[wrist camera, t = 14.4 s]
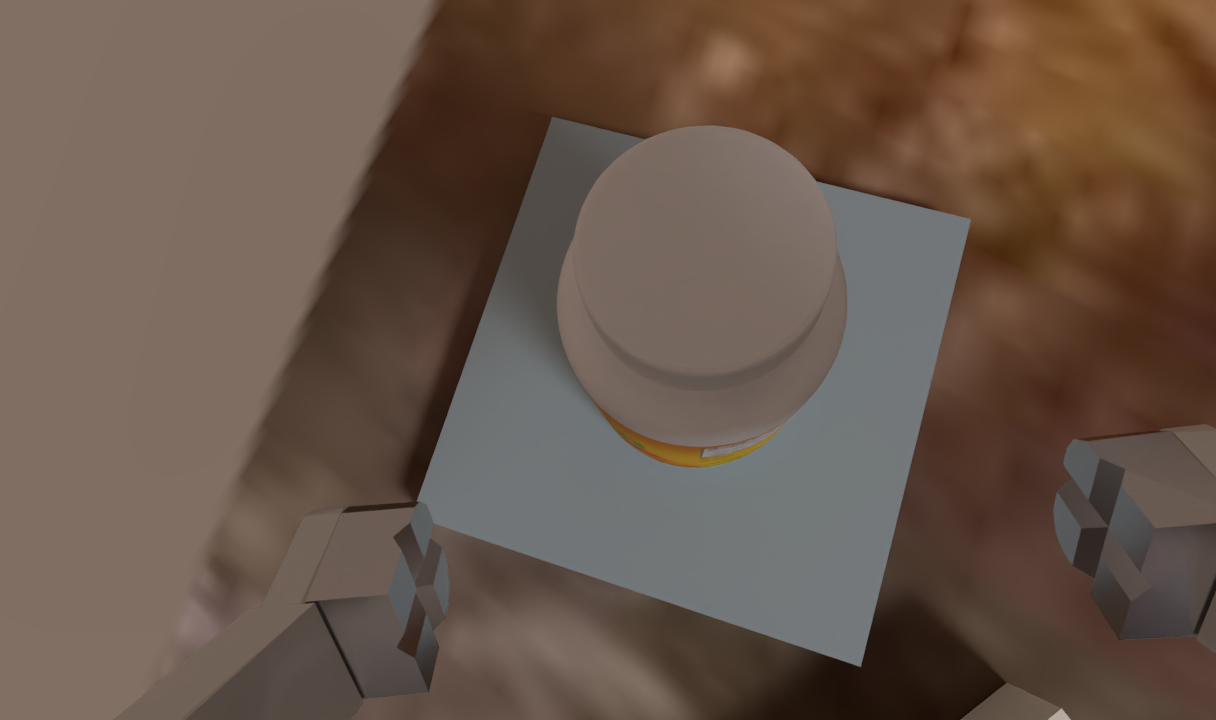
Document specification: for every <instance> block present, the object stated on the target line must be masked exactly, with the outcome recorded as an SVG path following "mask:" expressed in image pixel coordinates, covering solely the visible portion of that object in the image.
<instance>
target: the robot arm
mask: <svg viewBox="0 0 1216 720" xmlns="http://www.w3.org/2000/svg"><path fill="white" fill-rule="evenodd" d="M1063 465H1064V466H1065V468H1066V469H1067V471H1068V472H1069V473H1070V475H1071V476H1072V478H1071V479H1070V480H1069V481H1068V482H1067V483H1065V484H1064V485H1063V486H1062V487H1061V488H1060V489H1059V490H1058V491H1057V494H1056V500H1055V505H1054V511H1053V513H1054V521H1055V528H1056V534H1057V537H1058V539H1059V542H1060V545H1061V547H1062V550H1063V551H1064V553H1065V555H1066V556H1067V558H1068V560H1069V561H1070V563H1071V565H1072V566H1073V567H1075V568H1077V569H1078V570H1080V571H1082V572H1083V573H1085V574H1087V575H1088V576H1090V577H1092V578H1093V579H1094V583H1093V586H1092V590H1091V594H1090V595H1091V597H1092V598H1093V600H1094V601H1095V603H1096V604H1097V606H1098V608H1099V609H1100V611H1101V612H1102V614H1103V615H1104V617H1105V619H1106V620H1107V622H1108V623H1109V625H1110V626H1111V628H1112V630H1113V631H1114V633H1115V634H1116V636H1117V637H1118V639H1119V640H1130V639H1150V638H1170V637H1190V636H1197V639H1196V640H1197V641H1199V642H1200V643H1201V644H1203V645H1204V646H1206V647H1207V648H1208V649H1210V650H1211V651H1213V652H1214V653H1216V428H1213V427H1211V426H1209V425H1206V424H1203V425H1194V426H1185V427H1177V428H1168V429H1161V430H1159V431H1146V432H1136V433H1126V434H1116V435H1107V436H1097V437H1087V438H1078V439H1073V441H1072V442H1071V443H1070V445H1069V446H1068V448H1067V450H1066V454H1065V458H1064V462H1063ZM433 525H434V522H433V519H432V517H431V514H430V512H429V509H428V507H427V504H424V503H422V502H406V503H392V504H378V505H364V506H350V507H348V508H333V509H318V510H312V511H310V512H309V513H308V514H306V515H305V516H304V517H303V519H302V521H301V523H300V525H299V527H298V529H297V531H296V533H295V536H294V538H293V540H292V542H291V544H290V546H289V548H288V551H287V553H286V555H285V557H284V559H283V561H282V563H281V565H280V568H279V570H278V572H277V574H276V576H275V578H274V580H273V582H272V585H271V587H270V589H269V591H268V593H267V595H266V597H265V599H264V602H263V604H262V606H261V607H260V608H250V609H248V610H247V611H246V612H245V613H243V614H242V615H241V616H240V617H239V618H237V619H236V620H235V621H234V622H232V623H231V624H230V625H229V626H228V627H226V628H225V629H224V630H223V631H221V632H220V633H219V634H218V635H216V636H215V637H214V638H213V639H212V640H210V641H209V642H208V643H207V644H205V645H204V646H203V647H202V648H201V649H199V650H198V651H197V652H196V653H194V654H193V655H192V656H191V657H190V658H188V659H187V660H186V661H185V662H183V663H182V664H181V665H180V666H179V667H177V668H176V669H175V670H174V671H172V672H171V673H170V674H169V675H168V676H166V677H165V678H164V679H163V680H161V681H160V682H159V683H158V684H157V685H155V686H154V687H153V688H152V689H150V690H149V691H148V692H147V693H145V694H144V695H143V696H142V697H141V698H139V699H138V700H137V701H136V702H134V703H133V704H132V705H131V706H130V707H128V708H127V709H126V710H125V711H124V712H122V713H121V714H120V715H119V716H117V717H116V718H115V719H114V720H351V718H352V717H353V716H354V715H355V713H356V712H357V711H358V710H359V708H360V707H361V706H362V705H363V703H364V701H363V699H369V698H379V697H388V696H398V695H408V694H417V693H427V692H429V689H430V684H431V680H432V676H433V671H434V667H435V662H436V658H437V654H438V649H439V646H438V643H437V640H436V638H435V635H434V632H433V630H434V629H435V628H436V627H437V626H438V625H439V624H440V623H441V622H442V621H443V620H444V619H445V618H446V613H447V608H448V603H449V580H450V577H449V571H448V565H447V560H446V557H445V554H444V551H443V548H442V547H441V546H440V545H439V544H437V543H436V542H434V541H433V540H432V539H430V536H431V532H432V528H433Z"/></svg>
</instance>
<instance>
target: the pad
mask: <svg viewBox="0 0 1216 720" xmlns="http://www.w3.org/2000/svg"><path fill="white" fill-rule="evenodd" d="M644 140H645V139H642V138H637V137H633V136H629V135H625V134H621V133H617V132H613V131H609V130H605V129H601V128H597V127H593V126H589V125H584V124H580V123H576V122H572V121H568V120H564V119H560V118H556V117H552V119H551V122H550V125H549V128H548V131H547V133H546V136H545V139H544V142H543V145H542V148H541V150H540V153H539V156H538V159H537V162H536V165H535V167H534V170H533V173H532V176H531V179H530V182H529V184H528V187H527V190H526V193H525V196H524V199H523V201H522V204H521V207H520V210H519V213H518V216H517V218H516V221H515V224H514V227H513V230H512V233H511V235H510V238H509V241H508V244H507V247H506V250H505V253H504V255H503V258H502V261H501V264H500V267H499V270H498V272H497V275H496V278H495V281H494V284H493V287H492V289H491V292H490V295H489V298H488V301H487V304H486V306H485V309H484V312H483V315H482V318H481V321H480V323H479V326H478V329H477V332H476V335H475V338H474V340H473V343H472V346H471V349H470V352H469V355H468V357H467V360H466V363H465V366H464V369H463V372H462V374H461V377H460V380H459V383H458V386H457V389H456V391H455V394H454V397H453V400H452V403H451V406H450V408H449V411H448V414H447V417H446V420H445V423H444V425H443V428H442V431H441V434H440V437H439V440H438V442H437V445H436V448H435V451H434V454H433V457H432V459H431V462H430V465H429V468H428V471H427V474H426V476H425V479H424V482H423V485H422V488H421V491H420V493H419V496H418V499H417V502H422V503H424V504H427V507H428V509H429V512H430V514H431V517H432V519H433V522H434V524H437V525H440V526H442V527H445V528H448V529H451V530H454V531H457V532H460V533H463V534H466V535H469V536H472V537H475V538H478V539H481V540H484V541H487V542H490V543H493V544H496V545H499V546H502V547H505V548H508V549H511V550H514V551H517V552H520V553H523V554H526V555H529V556H532V557H535V558H538V559H541V560H544V561H547V562H550V563H553V564H556V565H559V566H562V567H565V568H567V569H570V570H573V571H576V572H579V573H582V574H585V575H588V576H591V577H594V578H597V579H600V580H603V581H606V582H609V583H612V584H615V585H618V586H621V587H624V588H627V589H630V590H633V591H636V592H639V593H642V594H645V595H648V596H651V597H654V598H657V599H660V600H663V601H666V602H669V603H672V604H675V605H678V606H681V607H684V608H687V609H690V610H693V611H695V612H698V613H701V614H704V615H707V616H710V617H713V618H716V619H719V620H722V621H725V622H728V623H731V624H734V625H737V626H740V627H743V628H746V629H749V630H752V631H755V632H758V633H761V634H764V635H767V636H770V637H773V638H776V639H779V640H782V641H785V642H788V643H791V644H794V645H797V646H800V647H803V648H806V649H809V650H812V651H815V652H818V653H820V654H823V655H826V656H829V657H832V658H835V659H838V660H841V661H844V662H847V663H850V664H853V665H856V666H859V667H861V664H862V660H863V656H864V652H865V648H866V644H867V640H868V636H869V632H870V628H871V624H872V619H873V615H874V611H875V607H876V603H877V599H878V595H879V591H880V587H881V583H882V579H883V575H884V571H885V567H886V563H887V559H888V554H889V550H890V546H891V542H892V538H893V534H894V530H895V526H896V522H897V518H898V514H899V510H900V506H901V502H902V498H903V493H904V489H905V485H906V481H907V477H908V473H909V469H910V465H911V461H912V457H913V453H914V449H915V445H916V441H917V437H918V433H919V428H920V424H921V420H922V416H923V412H924V408H925V404H926V400H927V396H928V392H929V388H930V384H931V380H932V376H933V372H934V368H935V363H936V359H937V355H938V351H939V347H940V343H941V339H942V335H943V331H944V327H945V323H946V319H947V315H948V311H949V307H950V303H951V298H952V294H953V290H954V286H955V282H956V278H957V274H958V270H959V266H960V262H961V258H962V254H963V250H964V246H965V242H966V237H967V233H968V229H969V225H970V221H971V219H968V218H964V217H960V216H956V215H951V214H947V213H943V212H939V211H935V210H931V209H927V208H923V207H919V206H915V205H911V204H907V203H903V202H898V201H894V200H890V199H886V198H882V197H878V196H874V195H870V194H866V193H862V192H858V191H854V190H850V189H845V188H841V187H837V186H833V185H829V184H825V183H821V182H817V181H816V182H817V184H818V186H819V187H820V189H821V191H822V192H823V194H824V196H825V198H826V201H827V203H828V205H829V208H830V211H831V214H832V217H833V220H834V224H835V229H836V236H837V251H838V254H839V257H840V260H841V263H842V266H843V270H844V274H845V279H846V285H847V299H848V305H847V320H846V327H845V331H844V336H843V340H842V343H841V346H840V349H839V352H838V355H837V357H836V359H835V361H834V363H833V365H832V367H831V369H830V371H829V372H828V374H827V376H826V378H825V379H824V381H823V382H822V384H821V385H820V386H819V388H818V389H817V390H816V391H815V393H814V394H813V395H812V397H811V398H810V399H809V400H808V401H807V402H806V403H805V404H804V405H803V406H802V408H801V409H800V410H798V411H797V412H796V413H795V414H794V416H793V417H792V418H791V419H790V420H789V421H788V422H787V423H786V424H785V425H784V426H783V427H782V428H781V429H780V430H779V431H778V432H777V433H776V434H775V435H774V436H773V437H772V438H771V439H770V440H769V441H768V442H767V443H766V444H764V445H763V446H761V447H760V448H758V449H757V450H756V451H754V452H752V453H751V454H749V455H747V456H745V457H743V458H741V459H738V460H736V461H733V462H730V463H727V464H724V465H720V466H715V467H709V468H682V467H676V466H671V465H667V464H664V463H661V462H659V461H656V460H654V459H652V458H650V457H647V456H646V455H644V454H642V453H641V452H639V451H638V450H636V449H635V448H633V447H632V446H631V445H630V444H628V443H627V442H626V441H625V440H624V439H623V438H622V437H620V435H619V434H618V433H617V432H616V431H615V430H614V429H613V427H612V426H611V424H610V423H609V422H608V420H607V419H606V418H605V417H604V415H603V414H602V413H601V411H600V410H599V409H598V407H597V406H596V404H595V403H594V402H593V400H592V399H591V397H590V396H589V395H588V393H587V392H586V391H585V389H584V388H583V386H582V385H581V383H580V382H579V380H578V379H577V378H576V376H575V374H574V372H573V369H572V367H571V365H570V362H569V360H568V358H567V355H566V353H565V350H564V347H563V344H562V340H561V336H560V331H559V326H558V318H557V292H558V284H559V278H560V273H561V269H562V265H563V262H564V259H565V256H566V253H567V251H568V249H569V246H570V244H571V242H572V240H573V238H574V234H575V229H576V224H577V220H578V217H579V214H580V211H581V208H582V206H583V204H584V202H585V200H586V198H587V195H588V194H589V192H590V190H591V189H592V187H593V186H594V184H595V182H596V181H597V179H598V178H599V177H600V176H601V174H602V173H603V172H604V171H605V170H606V169H607V168H608V167H609V166H610V165H611V164H612V163H613V161H614V160H616V159H617V158H618V157H619V156H621V155H622V154H623V153H625V152H626V151H627V150H629V149H630V148H632V147H633V146H635V145H637V144H638V143H640V142H642V141H644Z"/></svg>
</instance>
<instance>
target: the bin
mask: <svg viewBox="0 0 1216 720" xmlns="http://www.w3.org/2000/svg"><path fill="white" fill-rule="evenodd" d="M960 720H1071V719H1070V718H1069V717H1068V716H1067V714H1066V713H1065V712H1064V711H1063V710H1062V708H1059V707H1057V706H1055V705H1053V704H1051V703H1049V702H1047V701H1045V700H1043V699H1040V698H1038V697H1036V696H1034V695H1032V694H1030V693H1028V692H1026V691H1024V690H1021V689H1019V688H1017V687H1015V686H1013V685H1011V684H1009V683H1006V684H1005V685H1003V686H1002V687H1001V688H1000V689H998V690H997V691H996V692H995V693H993V694H992V695H991V696H990V697H988V698H987V699H986V700H984V701H983V702H982V703H981V704H979V705H978V706H977V707H976V708H974V709H973V710H972V711H971V712H969V713H968V714H967V715H966V716H964V717H963V718H962V719H960Z"/></svg>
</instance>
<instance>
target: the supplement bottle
mask: <svg viewBox="0 0 1216 720" xmlns="http://www.w3.org/2000/svg"><path fill="white" fill-rule="evenodd" d="M847 305H848V299H847V285H846V279H845V274H844V270H843V266H842V263H841V260H840V257H839V254H838V251H837V236H836V229H835V224H834V220H833V217H832V214H831V211H830V208H829V205H828V203H827V201H826V198H825V196H824V194H823V192H822V191H821V189H820V187H819V186H818V184H817V182H816V181H815V179H814V178H813V177H812V175H811V174H810V173H809V172H808V171H807V169H806V168H805V167H804V166H803V165H802V164H801V163H800V162H799V161H798V160H797V159H796V158H795V157H794V156H792V155H791V154H790V153H788V152H787V151H786V150H784V149H782V148H781V147H779V146H778V145H776V144H775V143H773V142H771V141H769V140H767V139H765V138H763V137H761V136H758V135H756V134H753V133H751V132H748V131H744V130H740V129H736V128H730V127H722V126H713V125H708V126H690V127H683V128H678V129H674V130H670V131H667V132H663V133H661V134H658V135H655V136H653V137H650V138H647V139H645V140H644V141H642V142H640V143H638V144H637V145H635V146H633V147H632V148H630V149H629V150H627V151H626V152H625V153H623V154H622V155H621V156H619V157H618V158H617V159H616V160H614V161H613V163H612V164H611V165H610V166H609V167H608V168H607V169H606V170H605V171H604V172H603V173H602V174H601V176H600V177H599V178H598V179H597V181H596V182H595V184H594V186H593V187H592V189H591V190H590V192H589V194H588V195H587V198H586V200H585V202H584V204H583V206H582V208H581V211H580V214H579V217H578V220H577V224H576V229H575V234H574V238H573V240H572V242H571V244H570V246H569V249H568V251H567V253H566V256H565V259H564V262H563V265H562V269H561V273H560V278H559V284H558V292H557V318H558V326H559V331H560V336H561V340H562V344H563V347H564V350H565V353H566V355H567V358H568V360H569V362H570V365H571V367H572V369H573V372H574V374H575V376H576V378H577V379H578V380H579V382H580V383H581V385H582V386H583V388H584V389H585V391H586V392H587V393H588V395H589V396H590V397H591V399H592V400H593V402H594V403H595V404H596V406H597V407H598V409H599V410H600V411H601V413H602V414H603V415H604V417H605V418H606V419H607V420H608V422H609V423H610V424H611V426H612V427H613V429H614V430H615V431H616V432H617V433H618V434H619V435H620V437H622V438H623V439H624V440H625V441H626V442H627V443H628V444H630V445H631V446H632V447H633V448H635V449H636V450H638V451H639V452H641V453H642V454H644V455H646V456H647V457H650V458H652V459H654V460H656V461H659V462H661V463H664V464H667V465H671V466H676V467H682V468H709V467H715V466H720V465H724V464H727V463H730V462H733V461H736V460H738V459H741V458H743V457H745V456H747V455H749V454H751V453H752V452H754V451H756V450H757V449H758V448H760V447H761V446H763V445H764V444H766V443H767V442H768V441H769V440H770V439H771V438H772V437H773V436H774V435H775V434H776V433H777V432H778V431H779V430H780V429H781V428H782V427H783V426H784V425H785V424H786V423H787V422H788V421H789V420H790V419H791V418H792V417H793V416H794V414H795V413H796V412H797V411H798V410H800V409H801V408H802V406H803V405H804V404H805V403H806V402H807V401H808V400H809V399H810V398H811V397H812V395H813V394H814V393H815V391H816V390H817V389H818V388H819V386H820V385H821V384H822V382H823V381H824V379H825V378H826V376H827V374H828V372H829V371H830V369H831V367H832V365H833V363H834V361H835V359H836V357H837V355H838V352H839V349H840V346H841V343H842V340H843V336H844V331H845V327H846V320H847Z"/></svg>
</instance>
